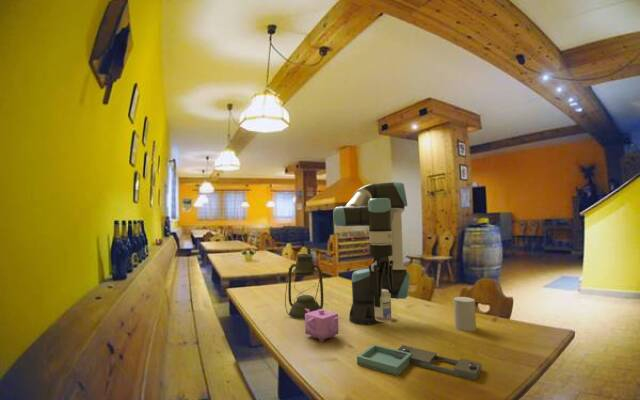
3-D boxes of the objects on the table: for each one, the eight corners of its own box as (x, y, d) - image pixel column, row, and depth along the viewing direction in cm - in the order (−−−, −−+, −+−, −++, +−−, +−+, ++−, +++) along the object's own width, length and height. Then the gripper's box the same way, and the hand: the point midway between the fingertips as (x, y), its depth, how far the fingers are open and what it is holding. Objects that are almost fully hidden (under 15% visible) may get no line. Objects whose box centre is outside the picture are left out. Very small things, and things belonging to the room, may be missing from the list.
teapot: (341, 331, 135) (340, 305, 136) (340, 343, 122) (339, 314, 122) (305, 331, 136) (304, 305, 137) (301, 343, 123) (300, 314, 123)
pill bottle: (373, 317, 108) (372, 288, 109) (388, 317, 108) (387, 288, 109) (377, 322, 103) (376, 292, 103) (393, 322, 103) (392, 291, 104)
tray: (357, 364, 104) (356, 356, 104) (374, 351, 114) (373, 344, 114) (397, 376, 96) (397, 367, 96) (412, 361, 105) (411, 353, 106)
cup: (478, 331, 131) (477, 302, 131) (457, 330, 132) (456, 301, 133) (473, 325, 139) (471, 297, 139) (453, 324, 140) (452, 296, 141)
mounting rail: (393, 359, 107) (392, 351, 107) (402, 350, 114) (402, 343, 114) (476, 380, 92) (475, 371, 92) (481, 369, 98) (481, 361, 99)
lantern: (331, 311, 164) (329, 252, 166) (315, 321, 149) (313, 256, 151) (297, 307, 174) (296, 251, 176) (278, 316, 158) (277, 255, 160)
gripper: (378, 246, 97) (381, 324, 96) (402, 242, 112) (404, 309, 111) (357, 245, 102) (359, 319, 101) (382, 241, 117) (384, 306, 115)
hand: (383, 314), depth 106 cm, fingers closed on pill bottle, 5 cm apart
